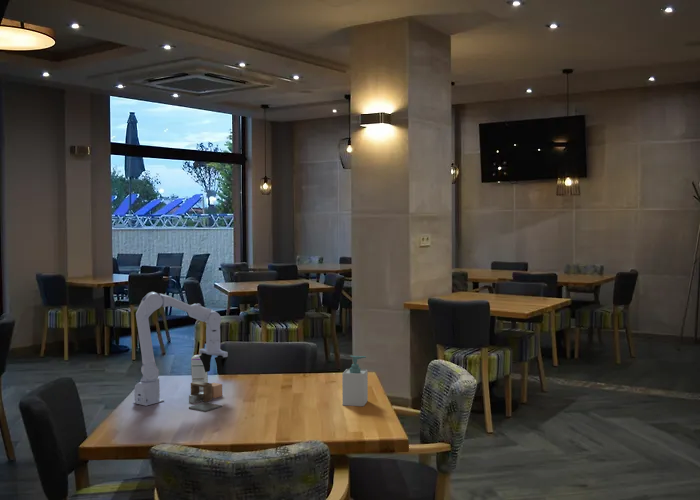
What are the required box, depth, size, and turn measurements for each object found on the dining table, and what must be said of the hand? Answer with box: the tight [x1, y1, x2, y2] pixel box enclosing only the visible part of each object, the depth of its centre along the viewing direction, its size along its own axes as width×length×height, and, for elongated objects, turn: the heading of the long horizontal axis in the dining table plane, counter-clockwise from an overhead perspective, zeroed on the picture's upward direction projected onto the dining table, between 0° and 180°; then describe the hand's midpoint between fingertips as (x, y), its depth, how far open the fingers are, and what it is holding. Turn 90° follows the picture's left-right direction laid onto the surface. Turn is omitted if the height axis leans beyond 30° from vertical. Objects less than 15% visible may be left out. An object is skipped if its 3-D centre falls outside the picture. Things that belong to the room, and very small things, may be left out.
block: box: [211, 382, 223, 399], centre depth 300 cm, size 5×5×5 cm
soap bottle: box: [341, 355, 369, 407], centre depth 287 cm, size 9×9×19 cm
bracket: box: [190, 381, 213, 403], centre depth 294 cm, size 4×8×7 cm, turn 56°
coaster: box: [188, 401, 223, 413], centre depth 282 cm, size 9×9×1 cm
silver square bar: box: [188, 391, 204, 404], centre depth 294 cm, size 10×3×3 cm, turn 147°
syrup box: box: [190, 354, 209, 391], centre depth 313 cm, size 6×6×14 cm
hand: (213, 372), depth 299 cm, fingers open, 7 cm apart
